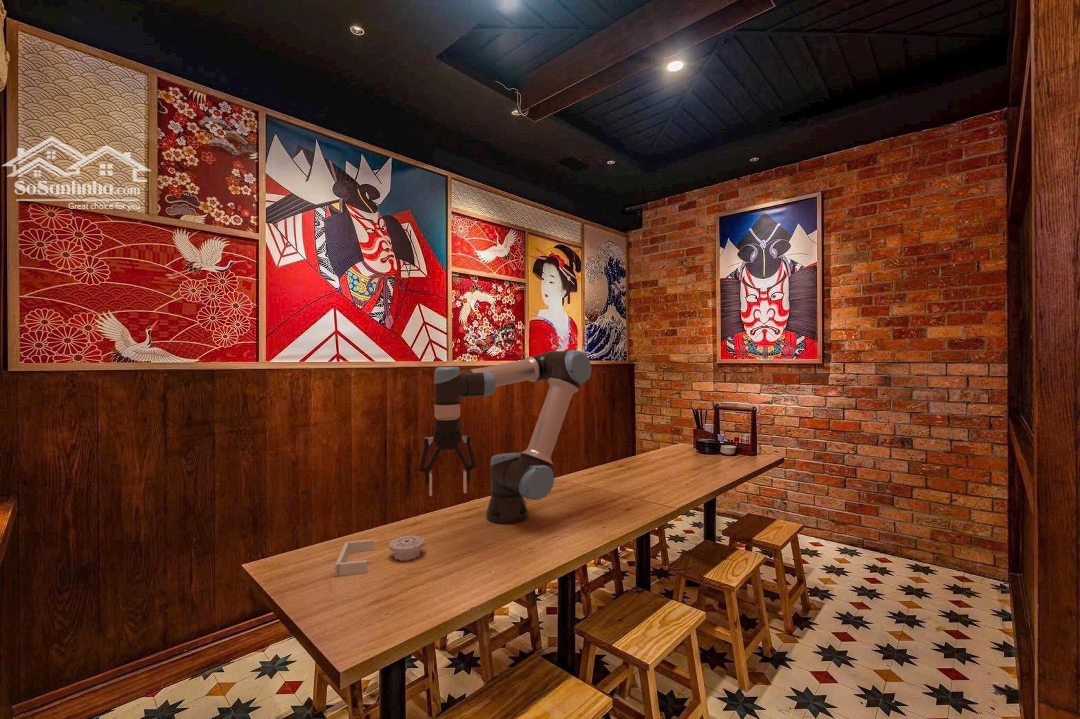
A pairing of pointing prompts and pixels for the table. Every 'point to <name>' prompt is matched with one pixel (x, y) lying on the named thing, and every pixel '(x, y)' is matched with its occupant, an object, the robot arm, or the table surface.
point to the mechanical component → (406, 547)
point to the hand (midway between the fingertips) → (448, 493)
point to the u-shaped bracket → (355, 566)
